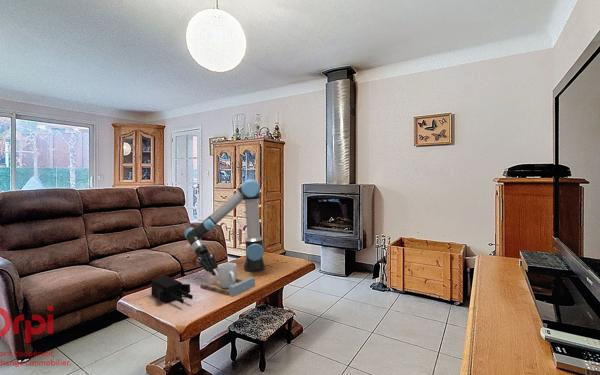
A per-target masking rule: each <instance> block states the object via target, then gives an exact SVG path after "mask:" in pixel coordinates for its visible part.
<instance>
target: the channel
mask: <svg viewBox="0 0 600 375" xmlns="http://www.w3.org/2000/svg"><path fill="white" fill-rule="evenodd" d="M243 280H244V279H240V278H237V277H236V281H235V284H236V283H238V282H241V281H243ZM199 287H200V289H203V290H206V291H210V292H212V293H213V292H214V293H217V294H221V295H225V296H229V289H228V290H227V289H225V288H219V287H216V286H212V285H209V284H204V283H201V284H200V286H199Z"/></svg>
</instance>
